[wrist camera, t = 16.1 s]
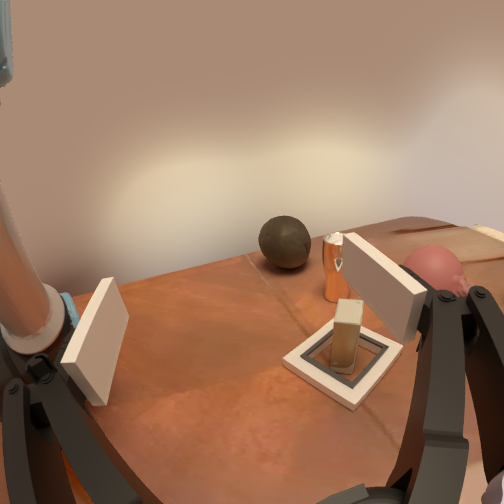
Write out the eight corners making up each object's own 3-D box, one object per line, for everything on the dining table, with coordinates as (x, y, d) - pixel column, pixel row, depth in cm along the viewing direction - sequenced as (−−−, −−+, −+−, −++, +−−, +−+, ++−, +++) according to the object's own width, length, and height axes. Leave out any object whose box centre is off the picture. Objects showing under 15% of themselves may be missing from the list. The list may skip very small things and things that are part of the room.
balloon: (441, 354, 41) (464, 287, 35) (381, 304, 59) (389, 243, 52) (478, 322, 45) (498, 262, 38) (423, 284, 62) (431, 229, 56)
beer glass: (320, 303, 63) (320, 244, 57) (324, 287, 69) (323, 231, 63) (350, 304, 61) (353, 245, 54) (351, 288, 67) (353, 232, 60)
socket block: (283, 365, 48) (282, 356, 47) (336, 322, 56) (337, 312, 55) (353, 411, 36) (355, 403, 35) (401, 353, 44) (403, 343, 43)
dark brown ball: (300, 252, 89) (297, 206, 82) (319, 271, 76) (317, 220, 70) (257, 261, 86) (251, 215, 80) (270, 284, 74) (264, 230, 67)
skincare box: (335, 348, 50) (338, 296, 44) (357, 350, 48) (364, 298, 43) (328, 373, 44) (332, 321, 39) (352, 376, 43) (361, 323, 37)
